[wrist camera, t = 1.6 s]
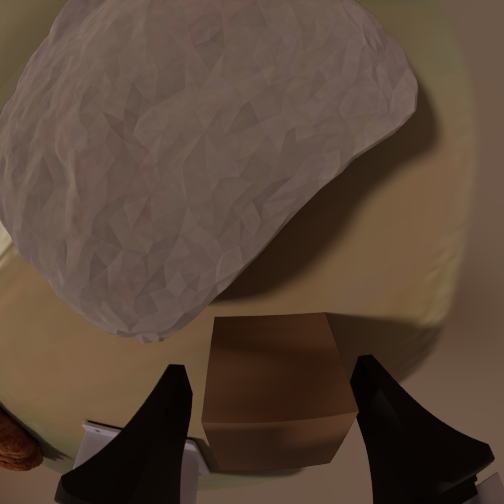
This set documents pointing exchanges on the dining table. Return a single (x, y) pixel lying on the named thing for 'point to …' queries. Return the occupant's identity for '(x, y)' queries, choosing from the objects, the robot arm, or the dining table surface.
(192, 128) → the stone block
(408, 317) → the dining table surface
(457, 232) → the dining table surface
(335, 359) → the walnut cube
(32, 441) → the pastry
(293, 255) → the dining table surface
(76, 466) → the robot arm
